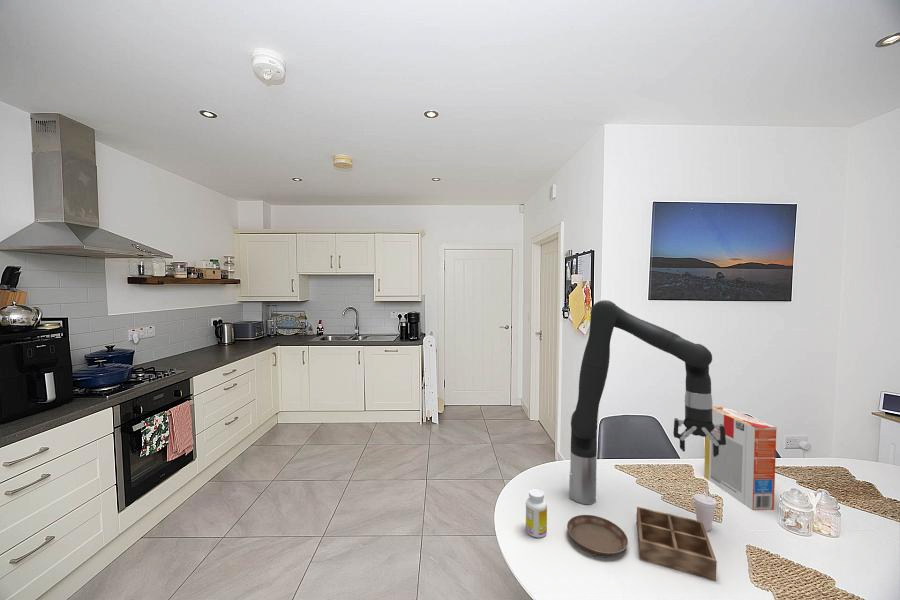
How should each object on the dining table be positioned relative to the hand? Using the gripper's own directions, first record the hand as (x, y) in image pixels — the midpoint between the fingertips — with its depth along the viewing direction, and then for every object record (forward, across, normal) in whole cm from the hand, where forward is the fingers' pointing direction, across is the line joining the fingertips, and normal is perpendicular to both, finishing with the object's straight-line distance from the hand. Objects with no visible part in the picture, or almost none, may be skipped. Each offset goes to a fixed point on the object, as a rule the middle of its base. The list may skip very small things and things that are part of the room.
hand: (698, 453), depth 120 cm
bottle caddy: (+24, -8, -17) cm, 31 cm away
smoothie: (+25, +1, 0) cm, 25 cm away
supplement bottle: (+23, -46, -31) cm, 60 cm away
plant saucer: (+24, -29, -25) cm, 45 cm away
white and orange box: (+25, +14, +32) cm, 43 cm away
